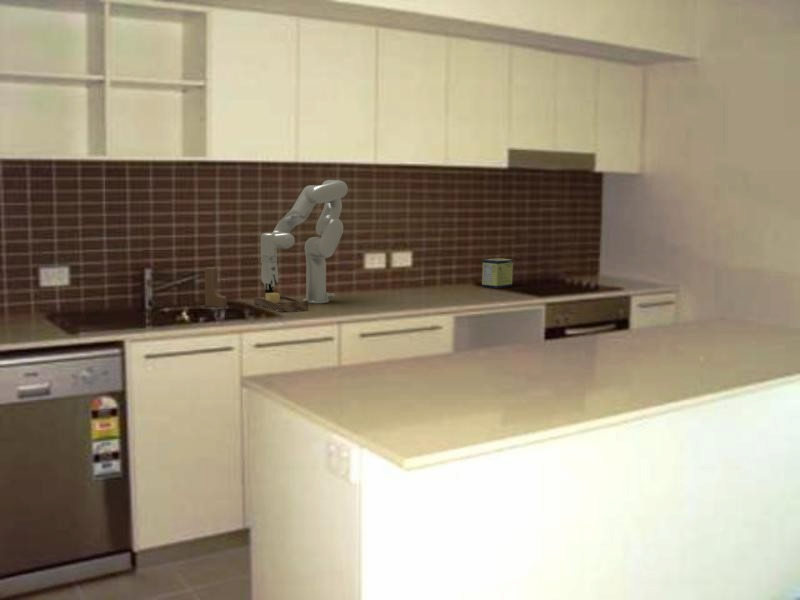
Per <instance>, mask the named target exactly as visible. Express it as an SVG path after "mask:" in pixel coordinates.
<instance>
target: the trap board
mask: <svg viewBox="0 0 800 600" xmlns="http://www.w3.org/2000/svg"><path fill="white" fill-rule="evenodd" d="M253 298H254V303H255V305H257V304H258V306H260V305H261V307H263V306H265V307H264V308H266V307H268V308H267V309H269V308H271V309H270V310H272V309H274V310H273V311H275V310H278V311H280V312H279V313H284V312H283V311H293V312H298V311H297V310H306V311H309V303H308V301H303V300H297V299H294V298H291V297H287V296H285V295H281V294H280V302H276V303H274V302H271V301H267V300H266V298H265V297H257V296H254V297H253ZM278 311H277V312H278Z"/></svg>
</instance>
